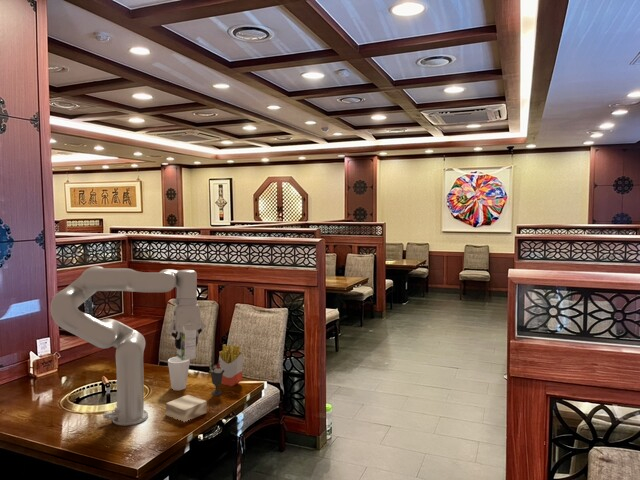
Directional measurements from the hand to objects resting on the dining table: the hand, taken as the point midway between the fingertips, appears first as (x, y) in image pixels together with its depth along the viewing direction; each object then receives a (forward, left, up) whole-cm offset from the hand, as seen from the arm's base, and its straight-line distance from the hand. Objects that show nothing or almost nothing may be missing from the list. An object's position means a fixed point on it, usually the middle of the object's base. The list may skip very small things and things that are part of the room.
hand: (186, 346), depth 183 cm
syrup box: (0, 0, -5) cm, 5 cm away
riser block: (0, 0, -27) cm, 27 cm away
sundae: (+19, +12, -27) cm, 35 cm away
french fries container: (+29, +19, -27) cm, 44 cm away
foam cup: (+8, +28, -27) cm, 40 cm away
